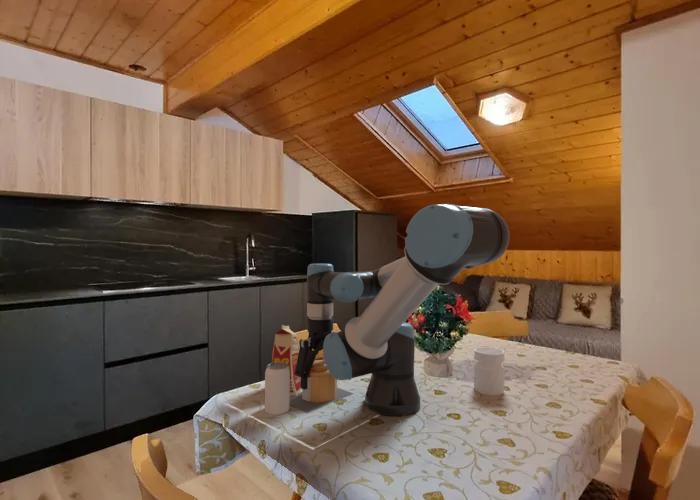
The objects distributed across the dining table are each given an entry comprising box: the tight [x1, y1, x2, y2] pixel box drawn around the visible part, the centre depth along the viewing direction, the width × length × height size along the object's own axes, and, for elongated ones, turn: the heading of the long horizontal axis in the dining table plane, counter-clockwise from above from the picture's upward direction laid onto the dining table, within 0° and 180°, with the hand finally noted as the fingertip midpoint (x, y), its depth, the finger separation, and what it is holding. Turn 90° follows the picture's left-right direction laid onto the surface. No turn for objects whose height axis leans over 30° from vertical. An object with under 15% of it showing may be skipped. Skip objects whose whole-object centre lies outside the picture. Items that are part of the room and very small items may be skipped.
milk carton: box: [271, 324, 302, 396], centre depth 119 cm, size 9×9×20 cm
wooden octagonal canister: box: [308, 359, 338, 403], centre depth 114 cm, size 10×10×9 cm
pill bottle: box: [473, 346, 505, 396], centre depth 120 cm, size 9×9×12 cm
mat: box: [290, 387, 354, 414], centre depth 113 cm, size 12×18×1 cm, turn 138°
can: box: [264, 362, 291, 415], centre depth 104 cm, size 6×6×12 cm
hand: (320, 394), depth 114 cm, fingers open, 10 cm apart
